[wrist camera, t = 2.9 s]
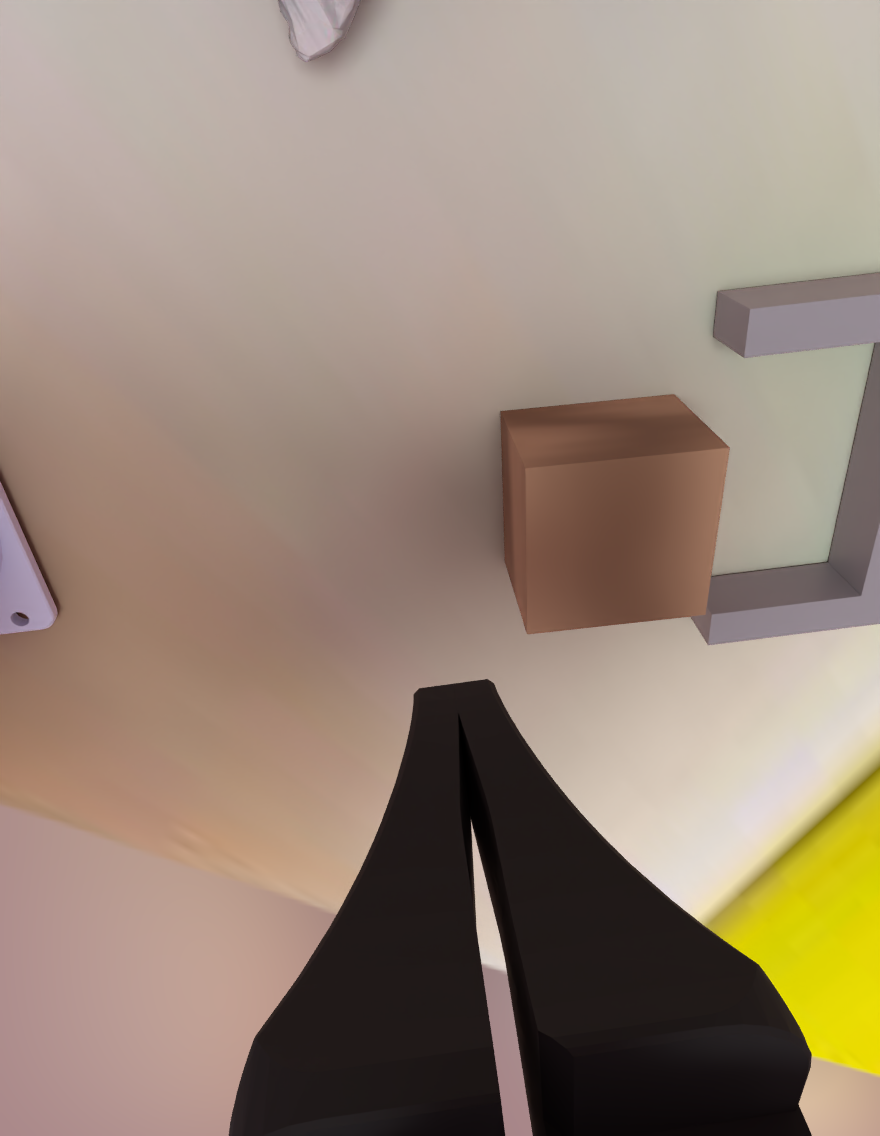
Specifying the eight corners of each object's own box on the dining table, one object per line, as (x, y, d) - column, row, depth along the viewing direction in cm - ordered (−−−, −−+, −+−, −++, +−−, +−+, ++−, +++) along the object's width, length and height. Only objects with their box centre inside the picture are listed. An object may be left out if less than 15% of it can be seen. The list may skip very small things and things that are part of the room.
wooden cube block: (504, 558, 24) (527, 634, 21) (500, 409, 22) (525, 468, 18) (657, 542, 24) (705, 614, 21) (672, 392, 22) (729, 447, 18)
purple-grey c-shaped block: (685, 608, 26) (708, 645, 24) (717, 290, 20) (750, 308, 18) (856, 587, 26) (890, 622, 24) (935, 266, 20) (986, 281, 19)
